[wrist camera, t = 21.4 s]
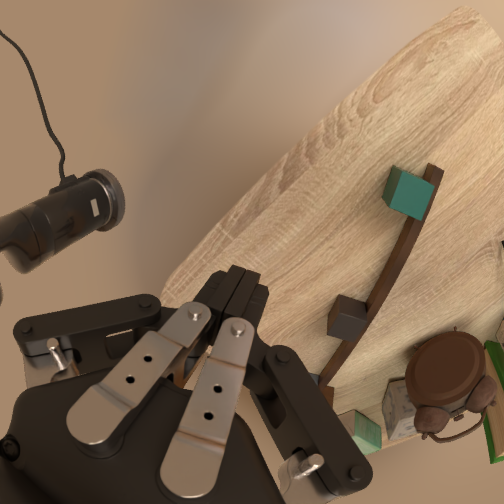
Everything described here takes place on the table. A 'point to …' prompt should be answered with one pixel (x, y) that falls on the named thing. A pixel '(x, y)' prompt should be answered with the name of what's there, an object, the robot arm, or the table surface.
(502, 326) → the ink box
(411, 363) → the alarm clock
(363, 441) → the box
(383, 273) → the rail
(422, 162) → the table surface
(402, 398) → the incense holder
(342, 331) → the middle block
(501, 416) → the hardback book
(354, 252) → the table surface
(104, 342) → the robot arm
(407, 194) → the near block
